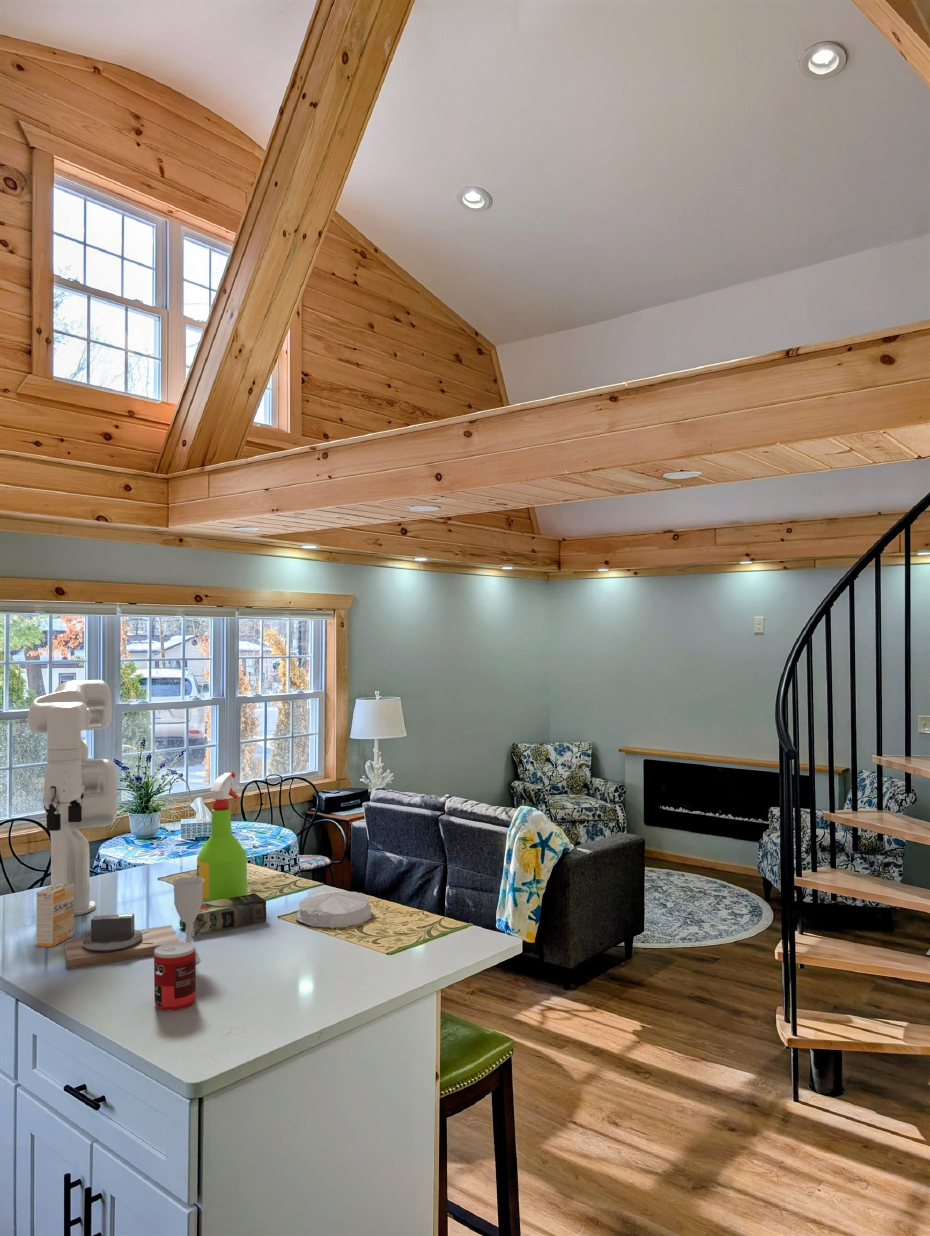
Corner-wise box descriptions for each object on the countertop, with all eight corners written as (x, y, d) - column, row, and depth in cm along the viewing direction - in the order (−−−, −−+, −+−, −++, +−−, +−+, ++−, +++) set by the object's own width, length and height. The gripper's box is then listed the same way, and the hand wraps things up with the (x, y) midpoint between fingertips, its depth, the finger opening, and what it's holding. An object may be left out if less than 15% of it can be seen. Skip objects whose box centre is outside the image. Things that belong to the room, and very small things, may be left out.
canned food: (160, 996, 177) (159, 942, 177) (199, 994, 178) (199, 940, 178) (149, 1012, 169) (149, 955, 170) (191, 1010, 170) (190, 953, 170)
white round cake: (375, 906, 238) (374, 880, 238) (369, 928, 218) (368, 901, 218) (301, 908, 237) (301, 883, 238) (289, 931, 217) (289, 904, 218)
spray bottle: (260, 888, 255) (259, 769, 256) (235, 907, 237) (234, 778, 238) (216, 887, 256) (215, 769, 257) (188, 906, 238) (187, 778, 239)
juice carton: (188, 938, 213) (188, 913, 213) (178, 928, 221) (178, 903, 221) (267, 924, 224) (267, 900, 224) (254, 914, 232) (254, 891, 232)
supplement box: (53, 947, 207) (52, 892, 208) (35, 946, 208) (35, 891, 209) (75, 936, 215) (75, 883, 216) (58, 935, 216) (57, 882, 217)
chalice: (211, 957, 199) (210, 878, 199) (193, 968, 192) (192, 886, 193) (184, 954, 201) (184, 876, 202) (165, 964, 195) (165, 884, 195)
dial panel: (65, 949, 206) (65, 940, 206) (171, 933, 216) (171, 924, 216) (67, 969, 193) (67, 959, 193) (179, 950, 204) (179, 941, 204)
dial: (75, 954, 197) (74, 926, 197) (92, 934, 209) (92, 909, 210) (134, 950, 198) (134, 923, 198) (148, 931, 211) (148, 906, 211)
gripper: (68, 751, 220) (68, 819, 220) (29, 760, 203) (29, 834, 203) (96, 751, 220) (96, 818, 219) (60, 760, 202) (60, 834, 202)
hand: (64, 826), depth 211 cm, fingers open, 9 cm apart
